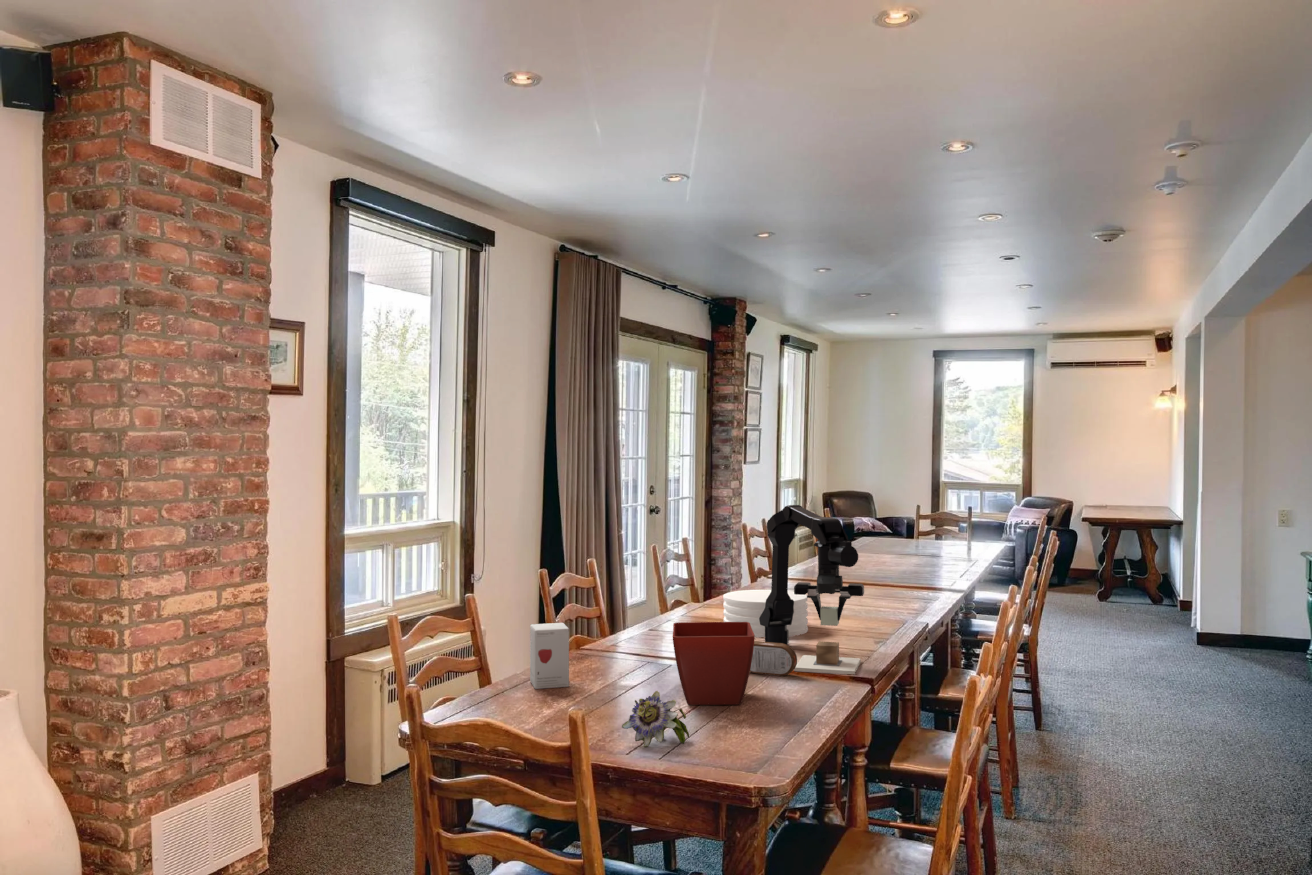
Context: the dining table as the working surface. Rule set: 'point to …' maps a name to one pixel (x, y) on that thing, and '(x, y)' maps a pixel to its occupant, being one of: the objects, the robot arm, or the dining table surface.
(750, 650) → the plant pot
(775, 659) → the tin
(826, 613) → the sage block
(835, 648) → the walnut block
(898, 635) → the dining table surface
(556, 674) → the supplement box
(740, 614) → the plate stack
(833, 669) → the off-white flat square slab
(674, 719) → the passion flower
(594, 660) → the dining table surface
